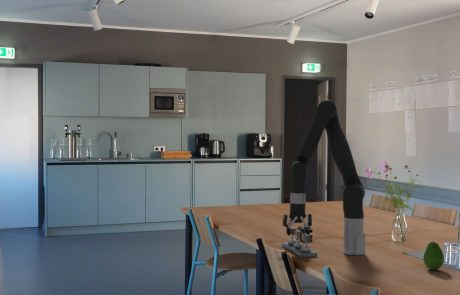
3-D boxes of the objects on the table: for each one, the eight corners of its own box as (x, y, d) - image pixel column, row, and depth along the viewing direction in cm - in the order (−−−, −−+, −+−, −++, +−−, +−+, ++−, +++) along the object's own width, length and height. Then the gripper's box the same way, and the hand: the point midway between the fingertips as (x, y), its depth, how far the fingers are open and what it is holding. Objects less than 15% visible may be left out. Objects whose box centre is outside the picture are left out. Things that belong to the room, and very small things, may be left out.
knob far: (299, 243, 277) (300, 228, 277) (295, 244, 274) (296, 229, 274) (289, 241, 281) (289, 227, 280) (285, 243, 277) (285, 228, 277)
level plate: (317, 256, 257) (317, 251, 257) (301, 257, 255) (301, 252, 255) (297, 245, 282) (297, 240, 282) (282, 246, 280) (282, 241, 280)
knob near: (312, 251, 257) (313, 235, 257) (304, 252, 256) (304, 236, 256) (307, 248, 263) (308, 233, 263) (299, 249, 262) (299, 233, 262)
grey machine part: (296, 237, 305) (296, 225, 305) (309, 237, 305) (309, 225, 305) (299, 241, 295) (299, 228, 295) (312, 241, 295) (312, 228, 295)
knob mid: (305, 247, 266) (305, 232, 266) (297, 248, 265) (297, 232, 265) (301, 245, 272) (301, 230, 272) (292, 245, 271) (292, 230, 271)
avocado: (423, 271, 231) (423, 242, 230) (423, 267, 238) (424, 239, 238) (443, 273, 228) (444, 244, 227) (443, 268, 235) (444, 240, 235)
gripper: (286, 203, 265) (285, 237, 265) (314, 202, 268) (313, 236, 269) (281, 201, 272) (280, 234, 273) (308, 200, 275) (307, 233, 276)
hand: (297, 235), depth 271 cm, fingers open, 8 cm apart
